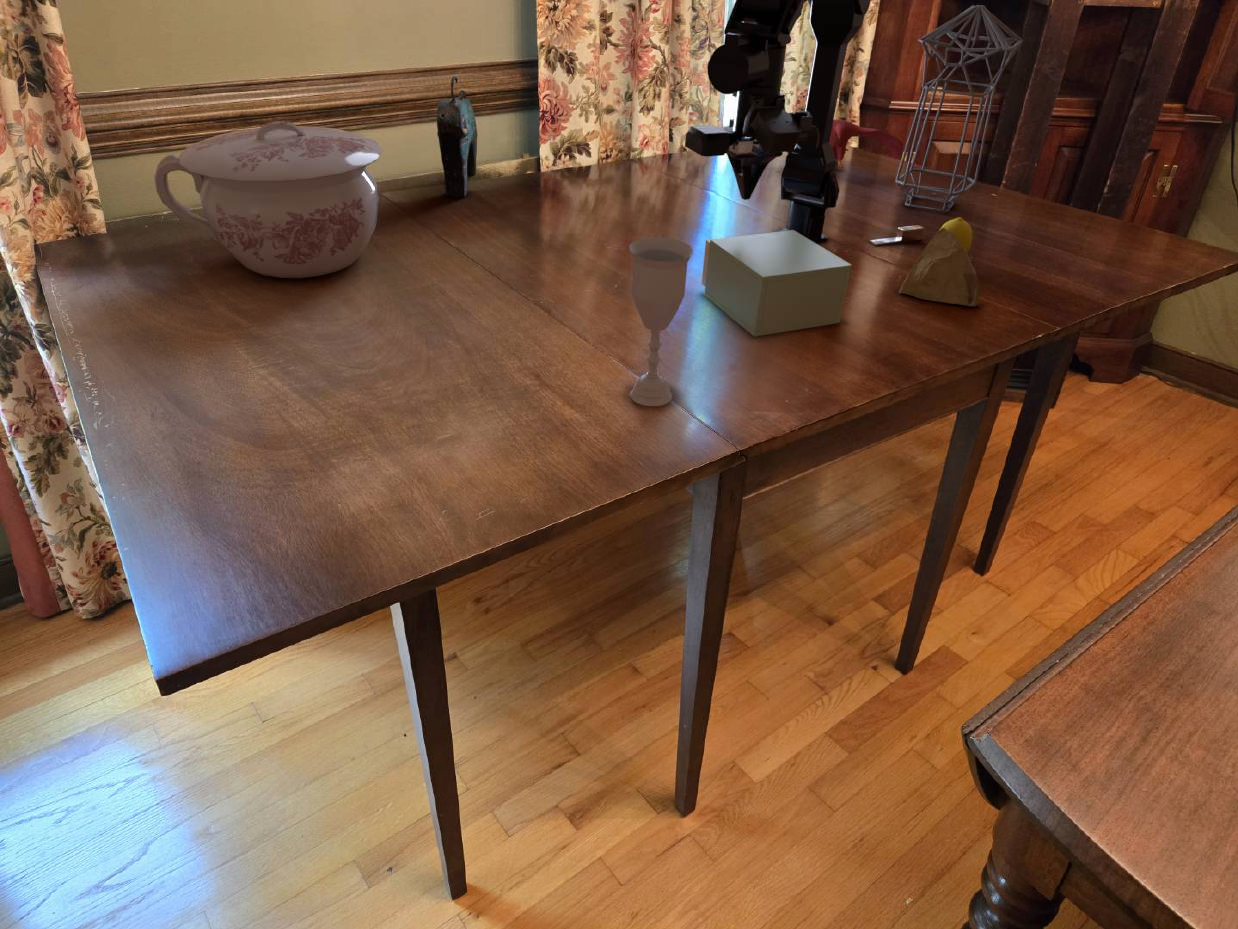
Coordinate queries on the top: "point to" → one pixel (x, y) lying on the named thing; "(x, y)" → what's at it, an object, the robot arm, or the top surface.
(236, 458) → the top surface
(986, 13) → the geometric lantern
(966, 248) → the lemon
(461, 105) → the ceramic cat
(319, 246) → the chamber pot
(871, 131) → the decorative bird sculpture
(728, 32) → the robot arm
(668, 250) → the chalice
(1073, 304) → the top surface
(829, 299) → the cabinet
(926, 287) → the rock
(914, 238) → the metal z bracket
